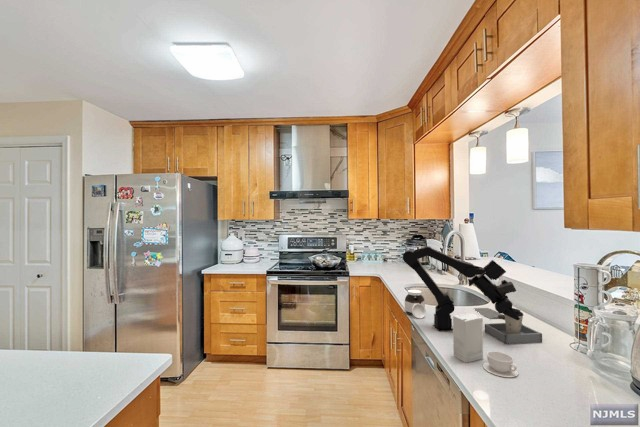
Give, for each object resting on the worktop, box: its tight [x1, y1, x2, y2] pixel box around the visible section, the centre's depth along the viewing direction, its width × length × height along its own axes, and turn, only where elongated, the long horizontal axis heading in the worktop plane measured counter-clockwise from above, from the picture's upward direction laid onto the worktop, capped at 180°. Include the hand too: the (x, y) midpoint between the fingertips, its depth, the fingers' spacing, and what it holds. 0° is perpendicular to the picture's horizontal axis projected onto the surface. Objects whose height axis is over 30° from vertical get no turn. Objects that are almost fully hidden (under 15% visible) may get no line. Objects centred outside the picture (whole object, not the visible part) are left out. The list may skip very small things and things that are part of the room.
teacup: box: [482, 350, 519, 378], centre depth 97 cm, size 10×10×5 cm
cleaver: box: [473, 307, 524, 325], centre depth 147 cm, size 30×10×2 cm, turn 5°
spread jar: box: [404, 289, 427, 319], centre depth 151 cm, size 12×11×12 cm
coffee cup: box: [503, 307, 524, 334], centre depth 122 cm, size 7×7×10 cm
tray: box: [484, 322, 543, 345], centre depth 123 cm, size 16×13×4 cm
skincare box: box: [452, 312, 484, 363], centre depth 105 cm, size 8×6×15 cm
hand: (517, 316), depth 122 cm, fingers closed on coffee cup, 7 cm apart
